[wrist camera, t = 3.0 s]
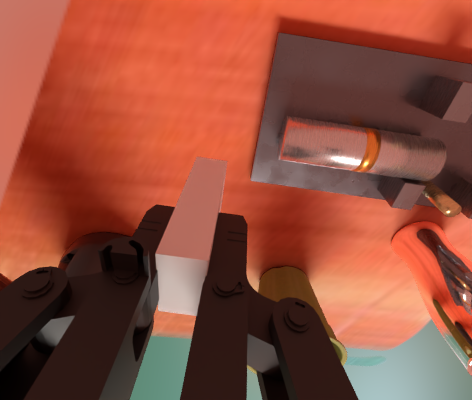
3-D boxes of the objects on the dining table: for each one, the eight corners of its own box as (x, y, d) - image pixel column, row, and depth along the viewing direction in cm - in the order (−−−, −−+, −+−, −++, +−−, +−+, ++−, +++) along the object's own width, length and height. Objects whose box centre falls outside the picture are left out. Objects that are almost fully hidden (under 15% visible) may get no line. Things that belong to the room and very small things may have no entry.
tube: (278, 136, 27) (276, 168, 25) (289, 105, 23) (288, 140, 21) (409, 156, 27) (418, 189, 25) (439, 128, 24) (452, 164, 22)
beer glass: (411, 211, 31) (518, 332, 19) (458, 227, 32) (590, 352, 20) (376, 250, 35) (446, 372, 23) (419, 263, 36) (509, 388, 24)
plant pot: (240, 301, 43) (238, 378, 33) (250, 249, 36) (250, 326, 27) (312, 308, 43) (329, 387, 33) (334, 258, 36) (364, 338, 27)
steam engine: (250, 176, 30) (250, 206, 25) (277, 32, 22) (286, 33, 17) (475, 208, 31) (519, 243, 26) (577, 81, 23) (668, 96, 18)
